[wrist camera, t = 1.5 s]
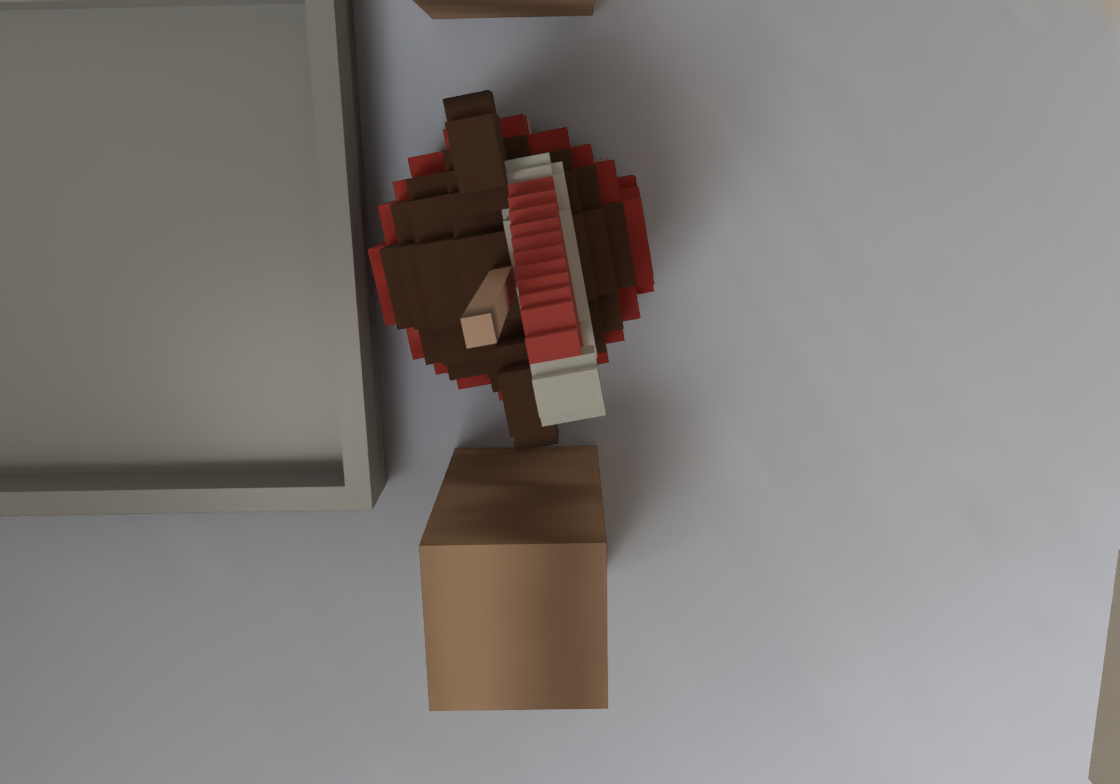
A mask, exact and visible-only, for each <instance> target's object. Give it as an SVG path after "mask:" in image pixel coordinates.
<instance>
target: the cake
mask: <svg viewBox="0 0 1120 784" xmlns="http://www.w3.org/2000/svg"><path fill="white" fill-rule="evenodd" d="M443 103H444V108H445V113H446V118H447V122H445V126H446V129H443V133H444V138H445V143H446V148H447V150H442V151H441V152H436V153H431V154H425V155H420V156H415V157H410V158H408V163H409V167H410V172H411V176H412V178H409V179H404V180H400V181H395V182H392V183H393V187H394V192H395V196H396V201H391V202H388V203H385V204H382V205H379V206H378V211H379V215H380V219H381V223H382V228H383V232H384V236H385V241H382V242H380V243H378V244H376V245H375V246H373V247H371V248H369V249H367V250H368V254H369V258H370V262H371V267H372V271H373V275H374V279H375V283H376V288H377V292H378V296H379V300H380V305H381V309H382V313H383V317H384V321H385V326H388V325H393V324H396V325H397V329H398V330H399V329H405V328H406V331H407V336H408V340H409V344H410V349H411V353H412V357H413V360H414V359H419V358H425V362H426V365H429V364H434V368H435V373H436V375H437V374H442V373H448V374H449V378H450V380H457V384H458V389H464V388H469V387H475V386H481V385H486V384H491V385H492V390H493V392H498V395H499V399H500V401H502V400H503V403H504V408H505V413H506V417H507V422H508V427H509V432H510V437H513V438H514V443H515V448H516V451H520V450H526V449H531V448H537V447H543V446H548V445H554V444H558V435H559V431H558V425H557V424H560V423H566V422H571V421H577V420H582V419H588V418H594V417H599V416H605V415H606V412H605V405H604V399H603V394H602V388H601V382H600V377H599V371H598V366H597V364H603V363H608V362H609V360H608V355H607V348H606V344H608V343H613V342H619V341H624V334H623V329H624V328H623V322H622V321H628V320H633V319H639V318H640V312H639V306H638V300H637V294H642V293H647V292H653V291H654V287H653V285H654V280H653V269H652V263H651V257H650V251H649V245H648V239H647V232H646V226H645V220H644V214H643V208H642V202H641V197H640V193H639V187H638V186H637V183H636V177H635V176H634V175H628V176H623V177H618V178H617V174H616V168H615V162H614V160H611V159H610V160H608V158H606V159H601V160H596V161H594V160H593V154H592V149H591V144H584V145H579V146H574V147H570V141H569V136H568V130H567V127H564V128H559V129H554V130H549V131H544V132H539V133H534V134H532V130H531V125H530V119H529V118H527V117H526V116H525V115H524V114H520V115H515V116H510V117H504V118H499V117H498V116H497V114H496V109H495V104H494V98H493V93H492V92H491V91H489V90H486V91H481V92H476V93H471V94H466V95H461V96H456V97H451V98H446V99H443Z"/></svg>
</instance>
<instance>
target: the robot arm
mask: <svg viewBox="0 0 1120 784" xmlns="http://www.w3.org/2000/svg"><path fill="white" fill-rule="evenodd" d="M1088 779H1089V780H1090V781H1091V782H1092V784H1120V550H1119V553H1118V560H1117V568H1116V575H1115V583H1114V590H1113V598H1112V605H1111V613H1110V620H1109V627H1108V635H1107V642H1106V650H1105V657H1104V665H1103V672H1102V680H1101V687H1100V695H1099V702H1098V710H1097V717H1096V724H1095V732H1094V739H1093V747H1092V754H1091V762H1090V769H1089V777H1088Z"/></svg>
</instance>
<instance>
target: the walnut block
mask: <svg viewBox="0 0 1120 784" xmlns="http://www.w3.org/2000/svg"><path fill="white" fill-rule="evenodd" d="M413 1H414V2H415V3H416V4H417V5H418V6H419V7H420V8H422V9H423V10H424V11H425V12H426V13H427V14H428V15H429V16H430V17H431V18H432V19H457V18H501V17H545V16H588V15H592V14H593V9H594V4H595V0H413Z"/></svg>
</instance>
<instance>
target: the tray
mask: <svg viewBox="0 0 1120 784" xmlns="http://www.w3.org/2000/svg"><path fill="white" fill-rule="evenodd" d="M367 249H369V234H368V220H367V206H366V192H365V178H364V164H363V150H362V136H361V122H360V108H359V94H358V80H357V66H356V52H355V38H354V24H353V10H352V0H0V516H31V515H92V514H152V513H213V512H274V511H334V510H372V509H373V508H374V506H375V504H376V502H377V500H378V498H379V496H380V494H381V492H382V491H383V489H384V487H385V485H386V473H385V459H384V445H383V431H382V417H381V403H380V389H379V374H378V360H377V346H376V332H375V318H374V304H373V290H372V276H371V262H370V258H369V254H368V250H367Z"/></svg>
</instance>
